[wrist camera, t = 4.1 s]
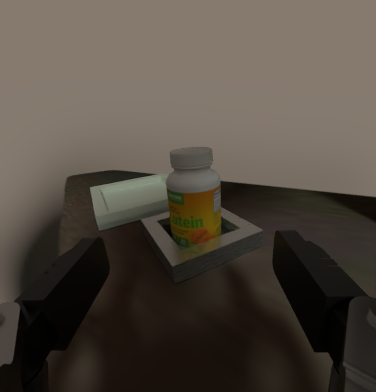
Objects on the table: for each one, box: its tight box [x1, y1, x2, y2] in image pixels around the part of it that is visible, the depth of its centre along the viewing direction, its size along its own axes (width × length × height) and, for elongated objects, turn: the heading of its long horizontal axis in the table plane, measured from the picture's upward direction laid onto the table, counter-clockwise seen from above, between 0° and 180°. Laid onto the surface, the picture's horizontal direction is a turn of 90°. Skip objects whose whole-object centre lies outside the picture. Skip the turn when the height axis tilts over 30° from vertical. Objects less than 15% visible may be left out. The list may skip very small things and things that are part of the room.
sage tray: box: [90, 173, 169, 231], centre depth 34 cm, size 15×15×2 cm
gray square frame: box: [141, 207, 263, 284], centre depth 22 cm, size 10×10×2 cm
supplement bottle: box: [166, 147, 221, 250], centre depth 20 cm, size 5×5×10 cm
